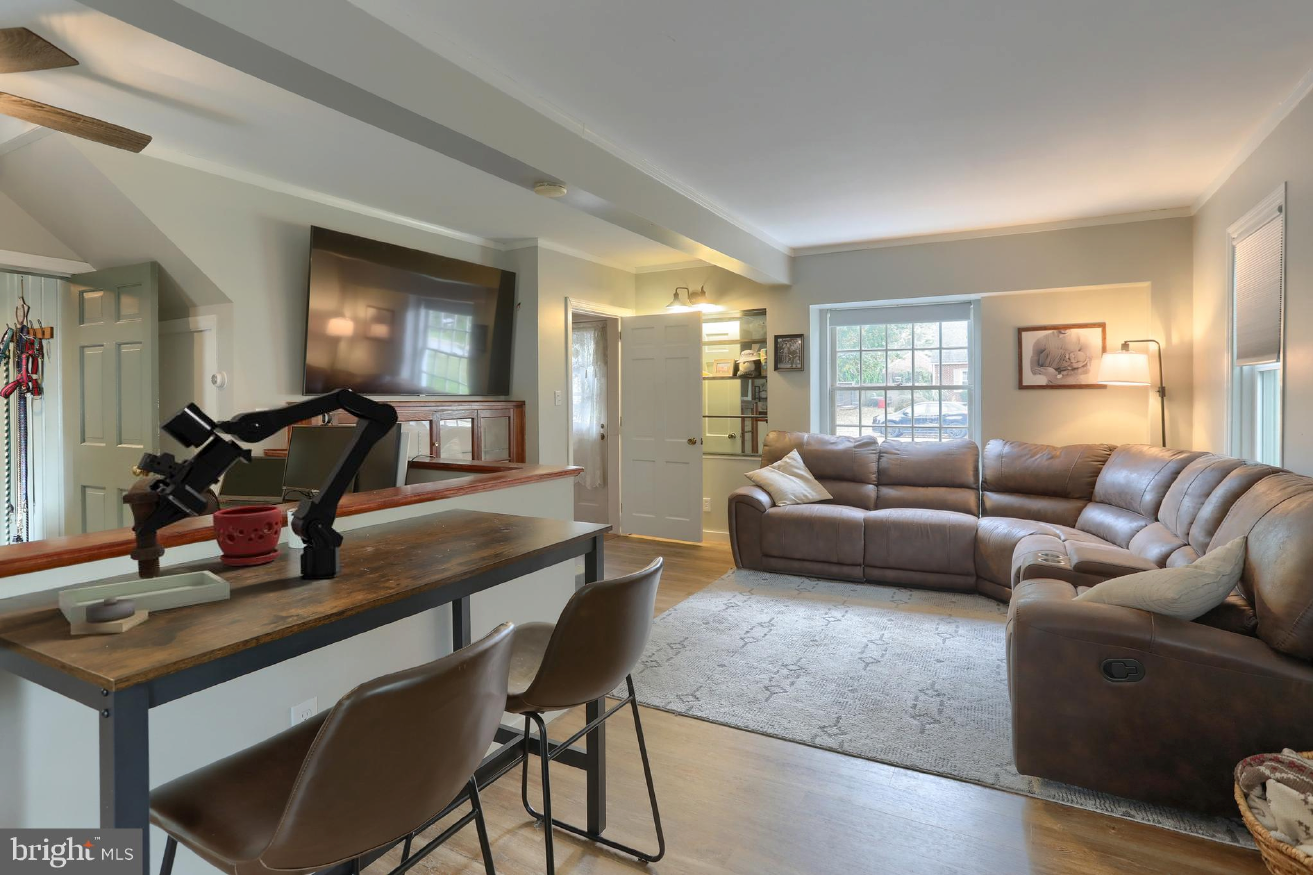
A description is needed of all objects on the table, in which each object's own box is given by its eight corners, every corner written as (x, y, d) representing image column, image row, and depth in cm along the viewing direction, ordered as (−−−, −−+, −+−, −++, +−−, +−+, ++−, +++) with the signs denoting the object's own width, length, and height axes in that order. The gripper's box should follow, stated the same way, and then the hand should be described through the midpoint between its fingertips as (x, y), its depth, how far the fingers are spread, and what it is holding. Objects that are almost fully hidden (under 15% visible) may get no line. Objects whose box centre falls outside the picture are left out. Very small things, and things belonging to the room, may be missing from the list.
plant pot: (238, 555, 162) (237, 504, 161) (293, 556, 161) (293, 505, 161) (199, 568, 149) (198, 512, 148) (259, 569, 148) (259, 513, 148)
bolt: (133, 583, 118) (125, 495, 117) (125, 579, 121) (118, 494, 120) (173, 575, 122) (166, 491, 121) (165, 572, 125) (158, 490, 125)
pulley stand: (148, 618, 112) (147, 592, 112) (122, 632, 105) (122, 604, 105) (99, 620, 111) (99, 594, 111) (70, 634, 104) (70, 606, 104)
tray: (207, 584, 134) (207, 570, 134) (229, 598, 125) (229, 582, 125) (59, 607, 118) (58, 591, 118) (71, 625, 109) (70, 607, 109)
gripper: (157, 434, 130) (84, 499, 122) (183, 437, 117) (103, 509, 110) (207, 473, 136) (140, 537, 128) (237, 480, 123) (165, 551, 116)
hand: (136, 533), depth 120 cm, fingers closed on bolt, 4 cm apart
